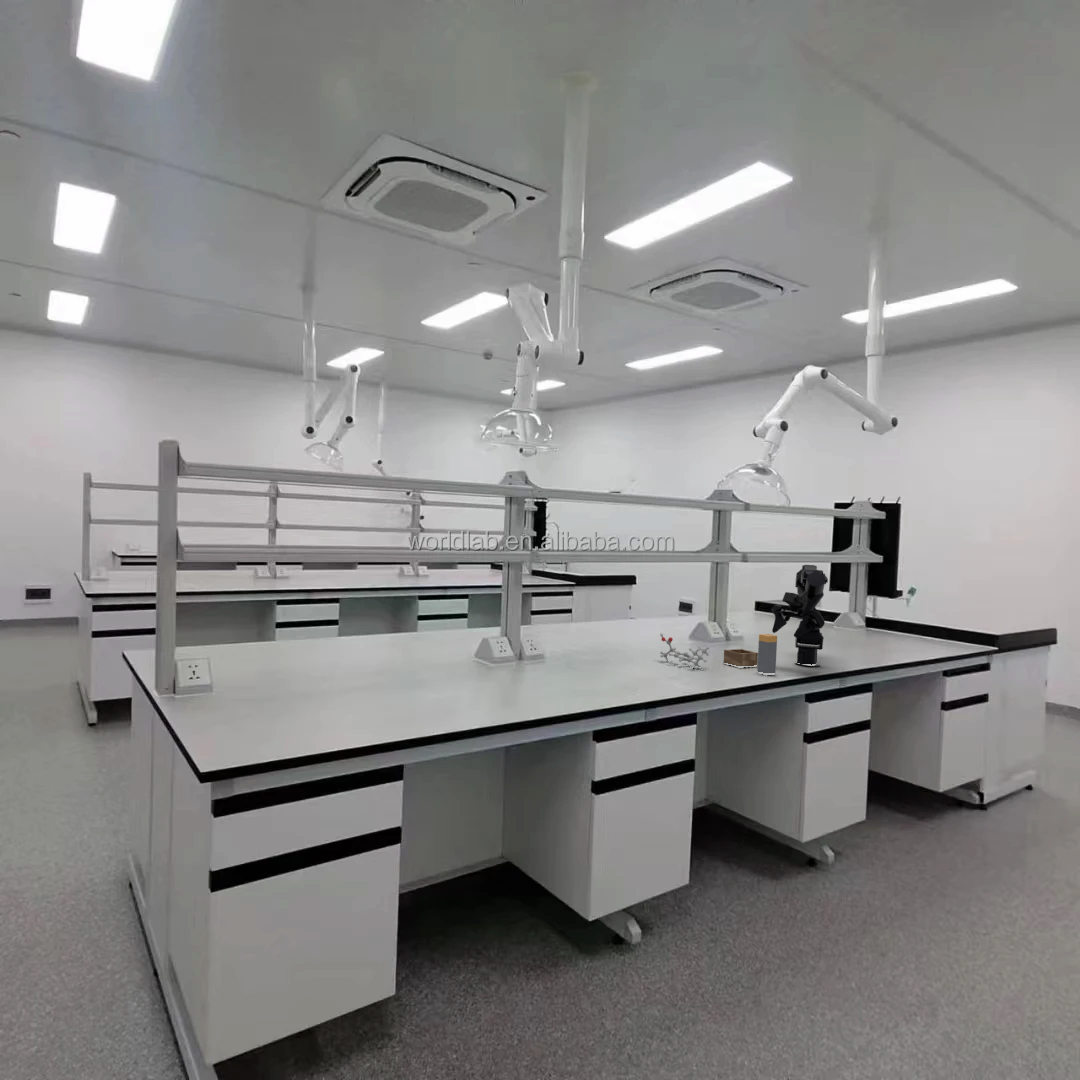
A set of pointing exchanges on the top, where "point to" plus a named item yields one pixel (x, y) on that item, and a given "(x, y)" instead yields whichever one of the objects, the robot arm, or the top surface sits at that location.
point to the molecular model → (689, 658)
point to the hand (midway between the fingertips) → (783, 634)
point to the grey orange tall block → (767, 653)
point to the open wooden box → (740, 657)
